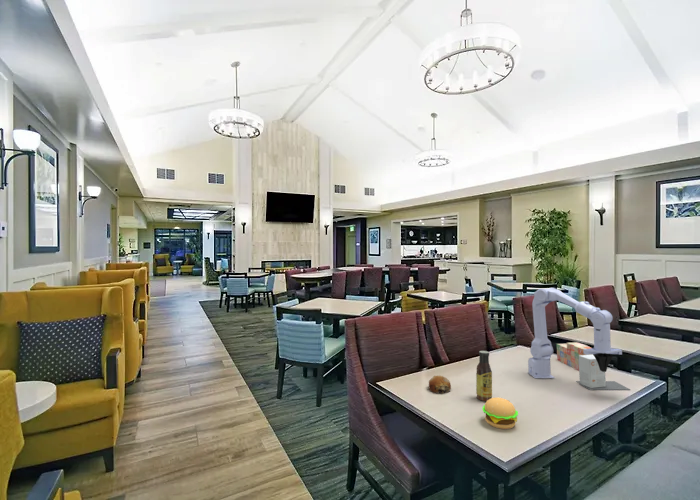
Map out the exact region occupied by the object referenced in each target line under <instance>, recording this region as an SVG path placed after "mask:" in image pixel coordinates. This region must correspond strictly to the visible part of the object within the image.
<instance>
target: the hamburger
mask: <svg viewBox="0 0 700 500" xmlns="http://www.w3.org/2000/svg"><path fill="white" fill-rule="evenodd" d="M481 409H482V411H483V413H484V414H485V417H484V419H485V421H486V422H487V424H488V425H490V426H491V427H494V428H496V429H502V430H507V429H512V428H514V427H515V425H516V423H517V422H518V416H519V411H518V410H516V407H515V406H514V404H513V403H512V402H510V400H508V399H506V398H503V397H492V398H491V399H489V400H487V401H485V403H484V405H483V406H482V408H481Z"/></svg>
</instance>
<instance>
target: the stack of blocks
mask: <svg viewBox="0 0 700 500" xmlns="http://www.w3.org/2000/svg"><path fill="white" fill-rule="evenodd" d="M589 348H592V347H590V346H588V345H587V344H583V343H580V342H576V341H575V342H566V343H556V355H557V356H556V359H557V361H558V362H561V363H563V364H565V365H567V366H569V367H570V368H573V369H574V370H577V371H579V356H580V355H586V354H584V351H583V349H589ZM589 355H591V354H589Z"/></svg>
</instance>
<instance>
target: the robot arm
mask: <svg viewBox="0 0 700 500" xmlns="http://www.w3.org/2000/svg"><path fill="white" fill-rule="evenodd" d="M533 296H534V297H533V299H532V307H531V308H532V317H533V327H534V329H533V330H534V331H533V333H534V338H533V339H532V341H531V347H530V350H529V352H530V354H531V356H532V357H529V358H528V361H527V363H528V364H527V365H528V366H527V368H528V371H527V374H529V375H530V376H532V377H533V378H534V379H555V378H556V377H555V376H554V375H552V374H551V373H552V370H551V368H552V367H551V358H552V355H553V354H554V347H553V345H552V342H551V340H550V339H549V338H548V330H547V329H548V328H547V321H546V320H547V317H546V307H547V306H548V304H550V303H552V302H556V301H558V302H560V303H563V304H565V305H567V306H569V307H571V308H573V309H575V312H576V313H577V314H579V315H581V316H583V317H584V318H587V319H589V320H590V321H591V323H592V326H593V347H591V348H589V349H583V351H584V354H586V355H589V354H593V355H594V357H595V358H596V360H597V362H598V365H599V368H600V371H602V372H605V373H606V372H607V370H608V366H609V364H610V362H611V361H612V359H613V357H614V356H613V355H623V350H622V349H620V348H612V347H611V346H612V344H611V323H612V322H613V319H614V318H613V314H612V313H611V312H610V311H608V310H607V309H602V310H601V308H600V307H596V306H594V305H591V304H590V302H589V301H578V300H576V299H574V298H573V297H572V296H569V295H568V294H566V293H564V292H562V290H560V289H557V288H556V287H549V288H548V287H547V288H538V289H537V290H536V291H534V294H533Z"/></svg>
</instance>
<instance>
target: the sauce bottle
mask: <svg viewBox="0 0 700 500" xmlns="http://www.w3.org/2000/svg"><path fill="white" fill-rule="evenodd" d="M478 355H479V356H478V357H479V358H478V359H479V362H478V364H477V366H476V372H475V373H476V375H475V376H476V377H475V378H476V379H475V380H476V382H475V383H476V385H475V387H476V389H475V390H476V391H475V394H476V398H477V400H480V401H482V402H487V400H489V399H491V398H493V371H492V368H491V364H490V360H489V357H490V352H489V351H487V350H479V351H478Z"/></svg>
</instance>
